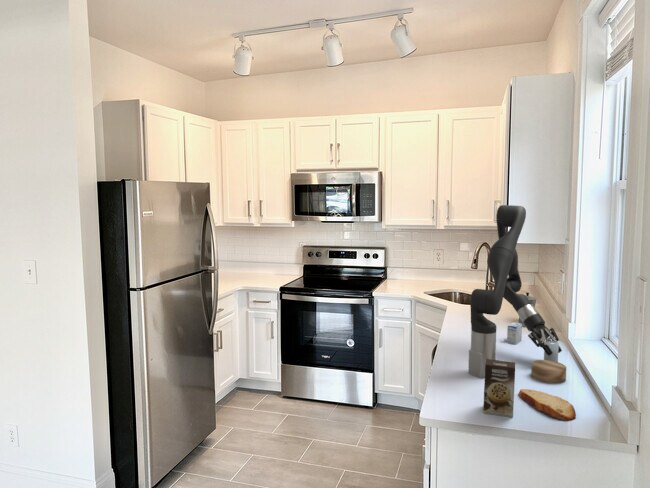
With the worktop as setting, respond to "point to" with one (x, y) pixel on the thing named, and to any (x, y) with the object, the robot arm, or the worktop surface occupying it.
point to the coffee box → (499, 387)
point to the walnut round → (548, 371)
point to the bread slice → (549, 404)
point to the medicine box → (514, 333)
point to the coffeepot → (533, 301)
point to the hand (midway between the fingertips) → (555, 353)
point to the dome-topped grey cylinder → (554, 349)
